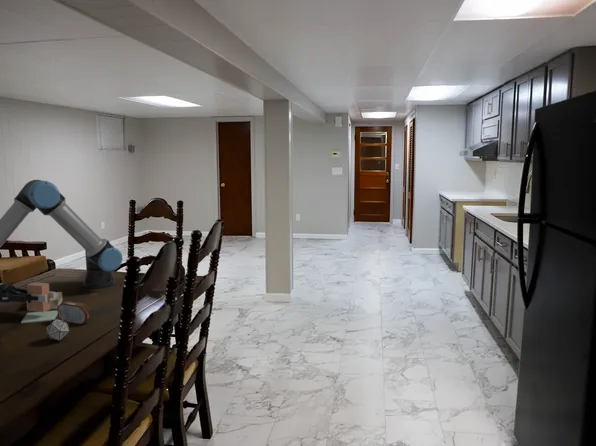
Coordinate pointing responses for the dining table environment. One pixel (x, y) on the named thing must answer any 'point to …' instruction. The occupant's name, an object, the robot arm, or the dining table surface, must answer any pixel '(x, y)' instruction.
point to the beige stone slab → (54, 301)
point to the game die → (57, 329)
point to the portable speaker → (74, 312)
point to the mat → (40, 316)
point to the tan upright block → (41, 290)
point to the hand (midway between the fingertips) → (50, 296)
